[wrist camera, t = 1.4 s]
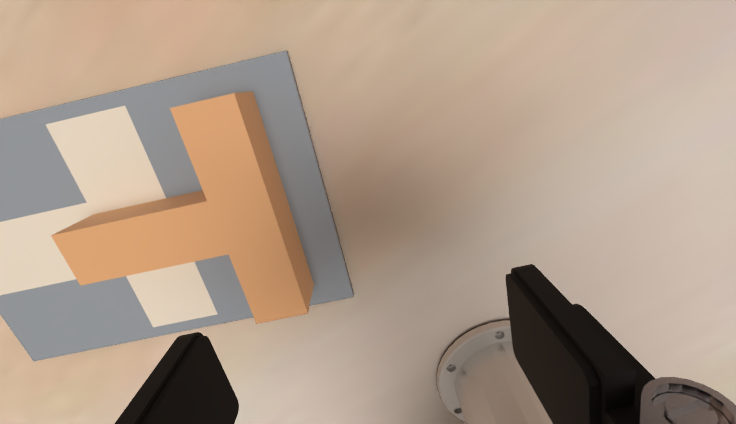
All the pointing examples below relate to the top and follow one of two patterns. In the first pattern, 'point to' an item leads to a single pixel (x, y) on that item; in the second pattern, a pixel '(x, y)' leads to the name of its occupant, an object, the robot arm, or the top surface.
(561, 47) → the top surface
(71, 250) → the t block
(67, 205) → the mat
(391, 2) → the top surface
